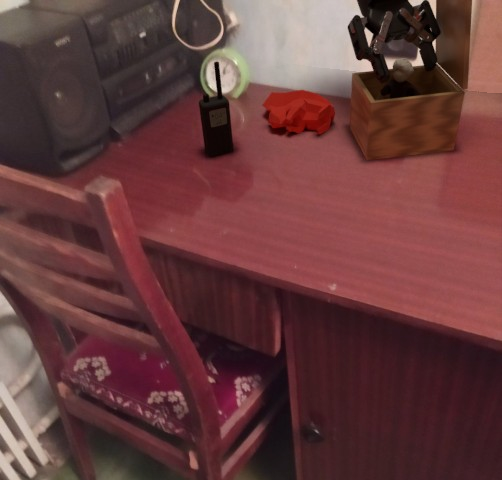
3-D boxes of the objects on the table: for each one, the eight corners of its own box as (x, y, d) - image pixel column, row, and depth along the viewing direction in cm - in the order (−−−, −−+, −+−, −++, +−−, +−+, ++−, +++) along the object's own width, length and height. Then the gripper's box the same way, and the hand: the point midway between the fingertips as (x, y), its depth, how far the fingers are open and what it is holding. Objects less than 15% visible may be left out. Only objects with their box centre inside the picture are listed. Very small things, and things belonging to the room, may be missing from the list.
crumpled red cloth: (278, 104, 115) (278, 78, 112) (343, 121, 108) (344, 93, 104) (241, 126, 109) (238, 99, 105) (306, 146, 102) (306, 117, 98)
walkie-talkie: (210, 159, 100) (198, 69, 90) (203, 151, 103) (192, 63, 92) (236, 153, 101) (227, 63, 91) (229, 145, 104) (220, 57, 93)
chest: (366, 162, 96) (371, 103, 89) (349, 129, 105) (352, 73, 98) (453, 151, 97) (464, 92, 90) (428, 119, 106) (437, 63, 99)
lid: (467, -22, 79) (504, -32, 79) (436, -43, 88) (469, -52, 88) (462, 90, 90) (495, 81, 89) (435, 61, 99) (464, 53, 98)
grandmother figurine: (371, 138, 100) (377, 61, 91) (374, 128, 103) (380, 53, 94) (417, 142, 98) (428, 63, 89) (419, 131, 101) (430, 54, 92)
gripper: (402, -16, 97) (434, 77, 97) (326, 0, 94) (359, 95, 94) (426, -48, 90) (460, 52, 90) (345, -32, 86) (380, 72, 87)
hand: (408, 74), depth 92 cm, fingers open, 8 cm apart
